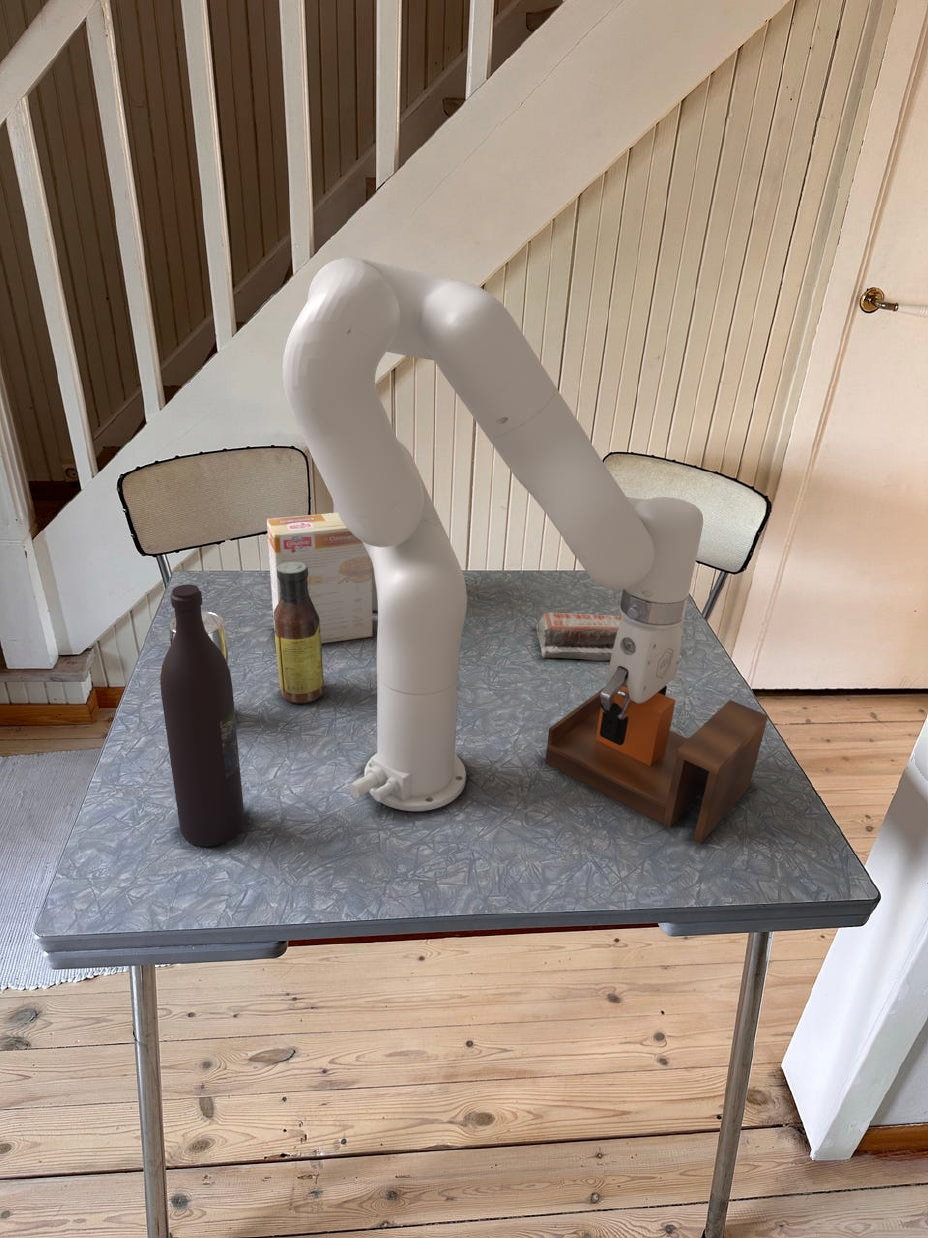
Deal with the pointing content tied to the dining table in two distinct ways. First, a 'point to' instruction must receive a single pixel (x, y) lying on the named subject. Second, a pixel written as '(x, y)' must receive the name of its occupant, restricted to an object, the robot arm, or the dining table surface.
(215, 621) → the beer glass
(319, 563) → the coffeecake box
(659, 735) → the block
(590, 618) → the packaged product
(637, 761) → the shelf
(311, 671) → the sauce bottle
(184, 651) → the wine bottle
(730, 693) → the dining table surface
